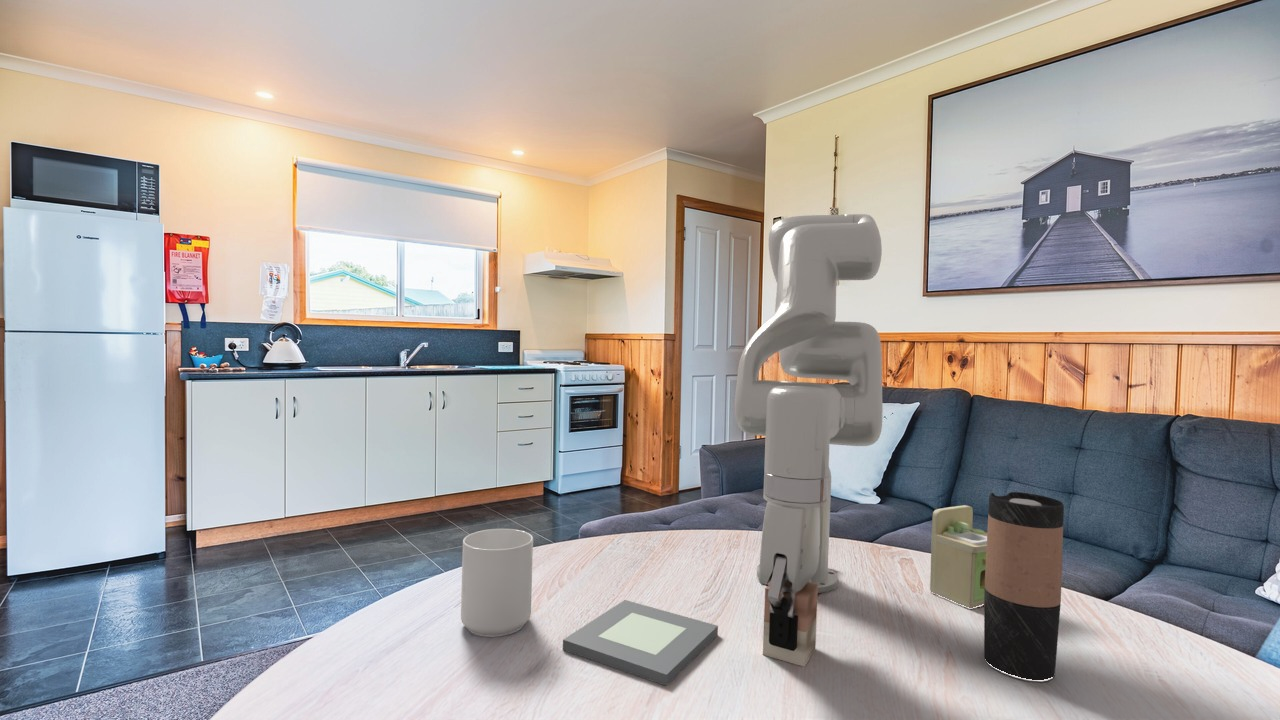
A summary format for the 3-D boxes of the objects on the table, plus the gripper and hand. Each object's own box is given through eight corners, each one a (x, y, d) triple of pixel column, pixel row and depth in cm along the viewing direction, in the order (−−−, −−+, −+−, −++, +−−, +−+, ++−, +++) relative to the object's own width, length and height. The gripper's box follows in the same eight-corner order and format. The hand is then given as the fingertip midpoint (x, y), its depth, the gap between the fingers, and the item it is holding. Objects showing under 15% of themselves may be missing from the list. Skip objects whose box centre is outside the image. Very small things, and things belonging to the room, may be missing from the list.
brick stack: (775, 638, 77) (778, 575, 77) (815, 649, 75) (817, 584, 75) (762, 654, 73) (765, 588, 73) (804, 666, 70) (806, 598, 70)
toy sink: (973, 612, 87) (977, 521, 87) (928, 593, 94) (932, 508, 93) (1010, 603, 91) (1014, 516, 91) (965, 585, 97) (968, 504, 97)
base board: (624, 608, 85) (624, 599, 85) (717, 635, 78) (717, 625, 78) (562, 649, 73) (563, 639, 73) (666, 685, 65) (666, 674, 65)
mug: (520, 642, 74) (522, 551, 74) (449, 637, 75) (451, 547, 75) (543, 601, 86) (545, 523, 86) (482, 597, 87) (484, 520, 86)
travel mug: (1059, 691, 67) (1067, 510, 66) (979, 670, 71) (986, 499, 70) (1055, 662, 73) (1063, 497, 73) (983, 644, 77) (989, 488, 77)
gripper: (785, 473, 83) (781, 605, 83) (740, 497, 68) (734, 658, 68) (842, 480, 79) (837, 619, 79) (807, 508, 64) (801, 678, 65)
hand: (789, 635), depth 74 cm, fingers closed on brick stack, 5 cm apart
